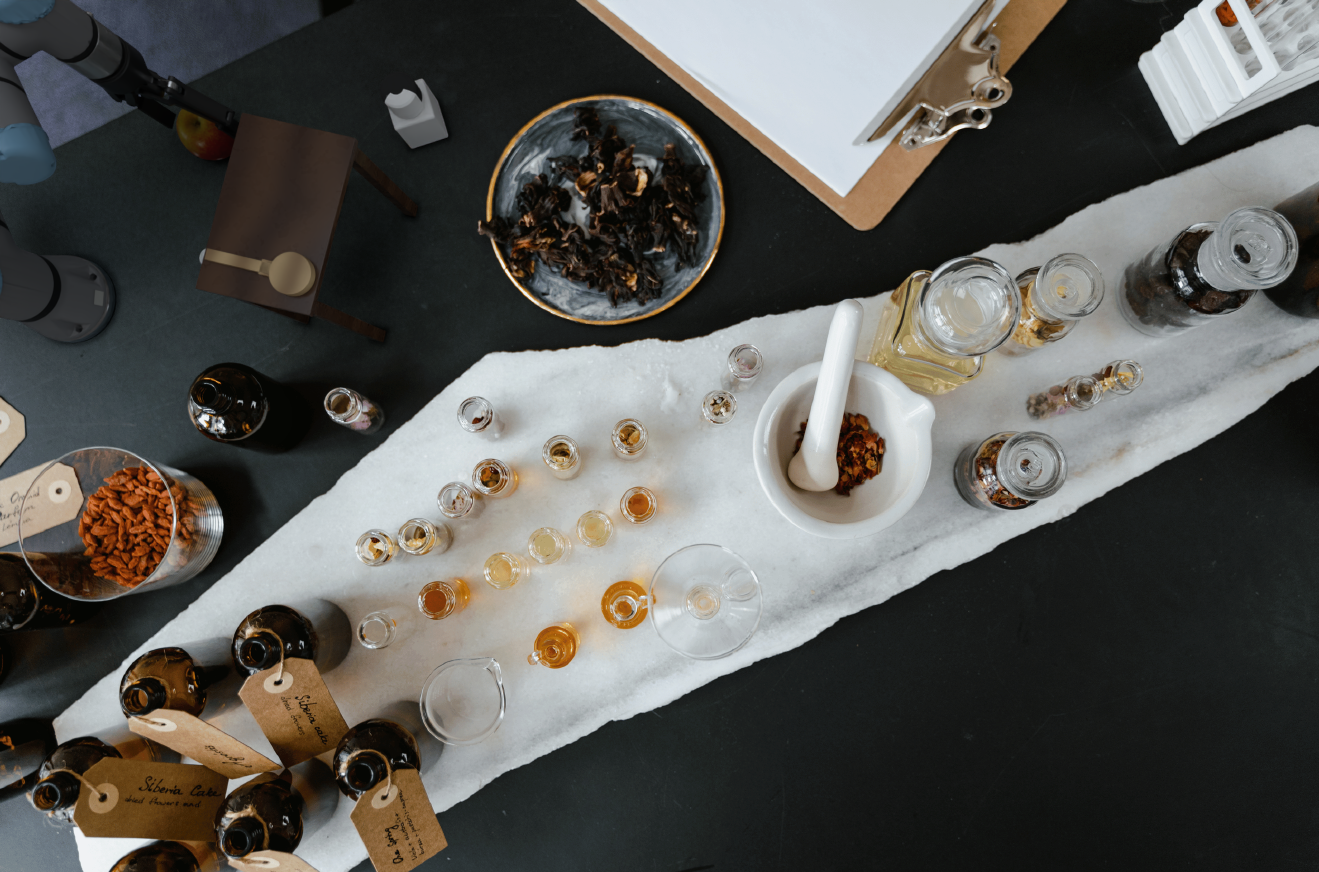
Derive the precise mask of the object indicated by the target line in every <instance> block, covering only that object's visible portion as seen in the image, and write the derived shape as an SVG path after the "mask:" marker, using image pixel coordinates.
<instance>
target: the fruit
mask: <svg viewBox="0 0 1319 872" xmlns="http://www.w3.org/2000/svg"><path fill="white" fill-rule="evenodd" d="M175 121H176V122H175V126H176V128H175V129H176V133H177V136H178V138H179V140H180V142H181V144H182V145H183V146H184V147H185V149H186V150H187V151H188V152H189V153H191V154H192V155H194V156H195V157H196V158H199V159H202V160H205V161H220V160H224V159H227V158H230V156H231V152H232V148H233V144H234V141H235V140H234V139H233V138H231V137H230V136H228V135H227V134H226V133H224V132H223V131H220V130H218V128H217V127H216V126H215V123H213V122H210V121H208V120H206V119H204V118H202V117H199V116H197V115H195V114H193V113H191V112H188V111H186V110H184V109H182V108H180V110H179V112H178V114H177V116H176V120H175Z"/></svg>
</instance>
